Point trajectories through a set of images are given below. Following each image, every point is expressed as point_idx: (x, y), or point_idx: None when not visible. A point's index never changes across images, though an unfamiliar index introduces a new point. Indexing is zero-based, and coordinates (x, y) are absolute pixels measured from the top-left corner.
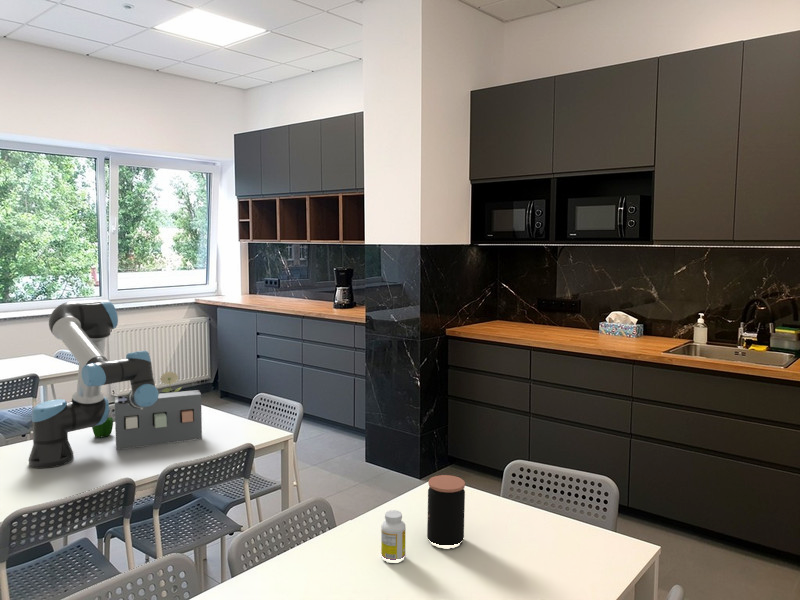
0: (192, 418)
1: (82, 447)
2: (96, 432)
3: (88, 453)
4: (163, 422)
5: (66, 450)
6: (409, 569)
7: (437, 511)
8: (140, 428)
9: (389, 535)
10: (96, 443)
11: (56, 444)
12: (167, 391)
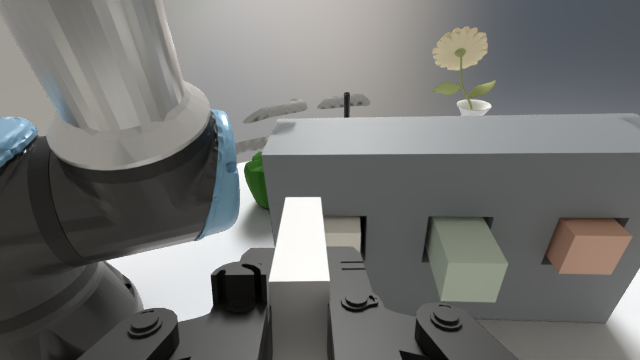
0: (614, 264)
1: (204, 254)
2: (255, 196)
3: (196, 310)
4: (484, 285)
5: (72, 346)
6: None
7: None
8: (370, 264)
9: None
10: (247, 240)
11: (6, 338)
12: (449, 92)
